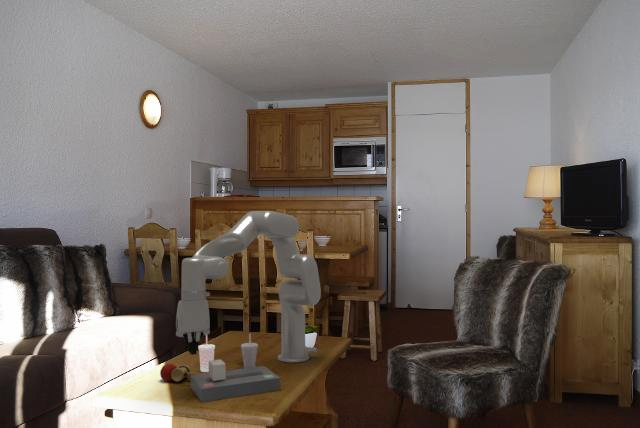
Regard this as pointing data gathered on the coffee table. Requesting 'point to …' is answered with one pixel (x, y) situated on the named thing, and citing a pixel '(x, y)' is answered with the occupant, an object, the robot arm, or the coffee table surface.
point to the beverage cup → (206, 355)
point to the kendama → (176, 372)
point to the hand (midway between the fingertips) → (192, 353)
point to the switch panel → (235, 383)
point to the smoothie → (249, 353)
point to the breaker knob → (217, 370)
